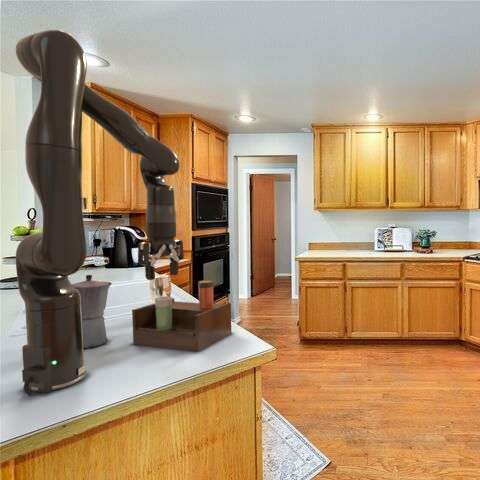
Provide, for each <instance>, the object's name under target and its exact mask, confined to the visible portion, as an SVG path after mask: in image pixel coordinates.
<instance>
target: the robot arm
mask: <svg viewBox="0 0 480 480" xmlns="http://www.w3.org/2000/svg"><path fill="white" fill-rule="evenodd" d="M15 55H16V58H17V60H18V62H19V63H20V65H21V67H22V68H24V70H25V71H26V72H28V73H29V74H30V76H32V77H33V78H35V79H36V80H38V81H39V82H40V84H41V85H40V96H39V100H38V103H37V106H36V107H35V110H34V113H33V114H32V116H31V117H32V118H31V120H30V122H29V125H28V128H27V131H26V135H25V143H24V144H25V145H24V147H25V148H24V149H25V150H24V152H25V153H24V154H25V155H24V156H25V157H24V158H25V169H26V173H27V176H28V179H29V181H30V183H31V185H32V188H33V190H34V191H35V194H36V196H37V198H38V200H39V203H40V206H41V211H42V231H41V232H34V233H31V234H29V235H26V236H25V237H24V238H22V239H21V240H20V242H19V243H18V245H17V247H16V250H15V270H16V278H17V279H16V280H17V287H18V292H19V295H20V297H21V298H22V300H23V302H24V308H25V309H24V311H25V323H26V324H25V328H26V343H27V344H24V345H23V346H22V348H21V350H22V365H23V367H22V368H23V369H22V370H21V375H22V377H21V378H22V382H23V391H24V393H25V394H26V395H27V396H28V397H31V396H33V395H34V393H33V392H38V393H45V394H47V393H50V392H52V391H55V390H60V389H63V388H66V387H70V386H72V385H75V384H77V383H79V382H80V381H82V380H83V379H84V378H85V377H86V371H87V364H86V363H85V355H84V353H85V352H84V348H83V334H82V314H81V295H80V292H79V290H78V289H76V288H75V287H74V286H73V285H72V284H73V283H71V281H70V279H69V276H72V275H74V274H76V273H77V272H79V271H80V270H81V269H82V268H83V266H84V265H85V262H86V259H87V254H88V253H87V251H88V249H87V239H86V231H85V223H84V215H83V140H82V139H83V114H85V115H86V116H87V117H88V118H89V119H91V120H92V121H93V122H94V123H96V124H97V125H99V127H101V128H102V129H103V130H104V131H105V132H107V134H109V135H110V136H111V137H112V138H113V139H114V141H116V142H117V143H118V144H119V145H121V146H122V147H123V148H124V149H125V150H126V151H127V152H128V153H131V154H133V155H139V156H140V160H139V172H140V175H141V178H142V181H143V185H144V188H145V190H146V209H145V224H146V225H145V229H146V230H145V231H146V233H145V234H146V238H148V242H139V243H138V244H137V264H138V265H140V266H144V273H145V279H146V280H154V279H155V275H156V268H155V267H156V266H155V264H156V262H157V261H158V260H159V259H160V258H163V257H165V258H167V259H168V260H169V275H170V276H177V275H178V274H179V262H180V261H181V260H184V258H185V257H184V256H185V255H184V253H185V252H184V241H183V240H181V239H175V238H176V237H177V212H176V201H175V200H176V196H175V189H174V187H173V186H172V185H171V184H170V185H169V184H167V183H166V181H165V176H166V177H167V176H168V177H169V176H173V175H175V174H177V173H178V172H179V171H180V168H181V164H180V163H181V162H180V159H179V157H178V155H176V153H175V152H174V151H173V150H172V149H171V148H170V147H168V146H167V145H166V144H164V143H162V142H161V141H160V140H159V139H157V138H156V137H154V136H152V135H151V134H149V132H147V130H146V129H145V128H143V126H142V125H141V124H140V123H139V122H138V121H137V120H136V119H135V118H134V117H133V116H132V115H131V114H130V113H128V112H127V111H126V110H124V109H123V108H122V107H120V106H118V105H117V104H115V103H113V102H112V101H111V100H108V99H107V98H105V97H104V96H102V95H101V94H99V93H98V92H96V91H95V90H94V89H92V88H91V87H90V86H89V85H88V84H86V78H87V72H88V71H87V69H88V63H87V57H86V54H85V51H84V48H83V47H82V45H81V44H80V43H79V42H78V40H77V39H76V38H75V37H73V36H72V35H71V34H69V33H68V32H65V31H63V30H59V29H47V30H43V31H39V32H35V33H33V34H29V35H26V36H24V37H21V38H20V39H19V40H18V41H17V43H16V44H15Z"/></svg>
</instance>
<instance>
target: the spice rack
mask: <svg viewBox="0 0 480 480" xmlns="http://www.w3.org/2000/svg"><path fill="white" fill-rule="evenodd" d="M131 316H132V340H133V341H132V342H133V345H139V346H148V347H157V348H166V349H174V350H183V351H190V352H200V351H202V350H204V349H206V348H208V347H210V346H212V345H213V344H216V343H217V342H219V341H221V340H222V339H224V338H226V337H228V336H231V335H232V302H225V303H222V304H214V303H213V307H212V308H209V309H200V308H199V302H189V301H175V298H174V297H172V322H173V328H171V329H169V330H158V329H156V306H155V303H154V304H152V303H151V304H147V305H145V306H141V307H137V308H134V309H132V310H131Z"/></svg>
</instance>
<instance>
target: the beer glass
mask: <svg viewBox="0 0 480 480" xmlns="http://www.w3.org/2000/svg"><path fill="white" fill-rule="evenodd" d="M148 288H149V289H148V291H149V296H150V300H151V304H154V303H155V299H156V298H159V297H171V294H172V279H171V275H170V274H155V279H154V280H149V282H148Z"/></svg>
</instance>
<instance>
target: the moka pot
mask: <svg viewBox="0 0 480 480" xmlns="http://www.w3.org/2000/svg"><path fill="white" fill-rule="evenodd" d="M92 278H93V275H92V274H86V275H85V280H84V281H79V282H75V283H71V284H72V285H73V286H74V287H75V288H76V289H78V290H79V292H80V295H81V314H82V334H83V349H86V348H94V347H97V346H101V345H104V344H105V343H107V341H108V338H107V330H106V323H105V317H104V316H105V315H104V314H105V309H106V307H107V300H108V294H109V289H110V287H111V285H113V283H112V282H110V281H99V280H92Z"/></svg>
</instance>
